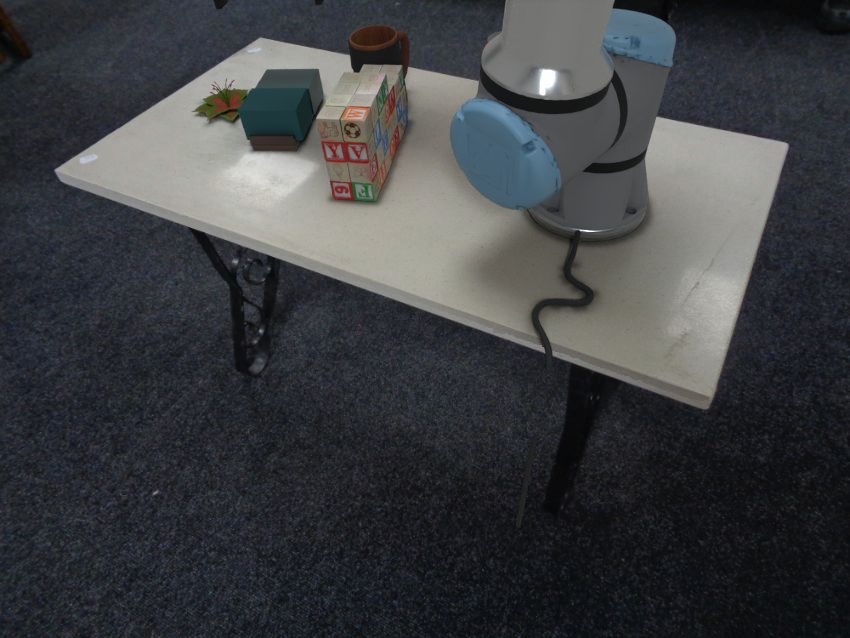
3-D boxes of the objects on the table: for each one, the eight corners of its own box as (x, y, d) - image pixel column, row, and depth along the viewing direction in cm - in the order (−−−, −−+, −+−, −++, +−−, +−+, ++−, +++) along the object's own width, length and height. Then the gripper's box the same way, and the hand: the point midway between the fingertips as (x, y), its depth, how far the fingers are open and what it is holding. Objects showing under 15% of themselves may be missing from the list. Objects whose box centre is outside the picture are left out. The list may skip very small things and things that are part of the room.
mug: (430, 93, 95) (426, 22, 86) (384, 126, 89) (375, 54, 80) (392, 80, 99) (385, 10, 90) (346, 111, 93) (333, 40, 84)
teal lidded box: (302, 151, 86) (294, 117, 82) (247, 150, 87) (236, 118, 83) (326, 97, 97) (320, 65, 93) (276, 97, 98) (268, 66, 94)
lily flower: (224, 86, 102) (215, 61, 98) (277, 97, 98) (270, 71, 95) (179, 118, 95) (168, 92, 92) (235, 131, 91) (226, 104, 88)
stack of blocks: (371, 120, 91) (360, 42, 82) (408, 122, 90) (402, 43, 81) (332, 199, 77) (314, 116, 68) (376, 202, 76) (364, 119, 67)
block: (303, 140, 86) (295, 110, 82) (247, 140, 87) (237, 110, 83) (313, 117, 91) (306, 87, 87) (260, 117, 92) (251, 88, 88)
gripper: (338, -231, 59) (367, -11, 75) (120, -212, 62) (192, -3, 78) (323, -224, 54) (358, 10, 70) (87, -204, 57) (171, 17, 73)
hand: (271, 3), depth 74 cm, fingers open, 13 cm apart
